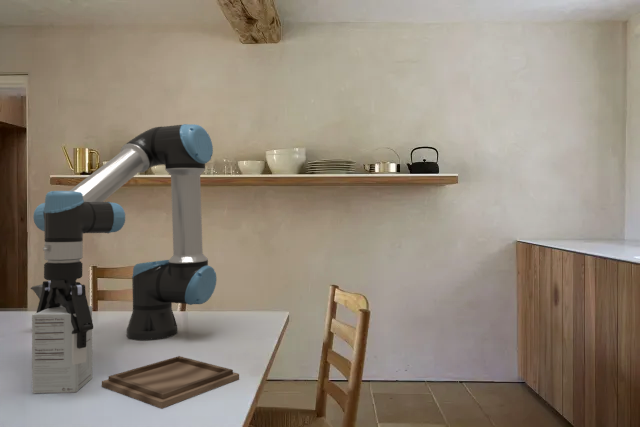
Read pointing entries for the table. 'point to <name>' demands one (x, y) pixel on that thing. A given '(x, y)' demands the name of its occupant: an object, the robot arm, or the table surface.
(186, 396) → the walnut tray
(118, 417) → the table surface
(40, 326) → the supplement box
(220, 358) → the table surface
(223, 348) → the table surface
